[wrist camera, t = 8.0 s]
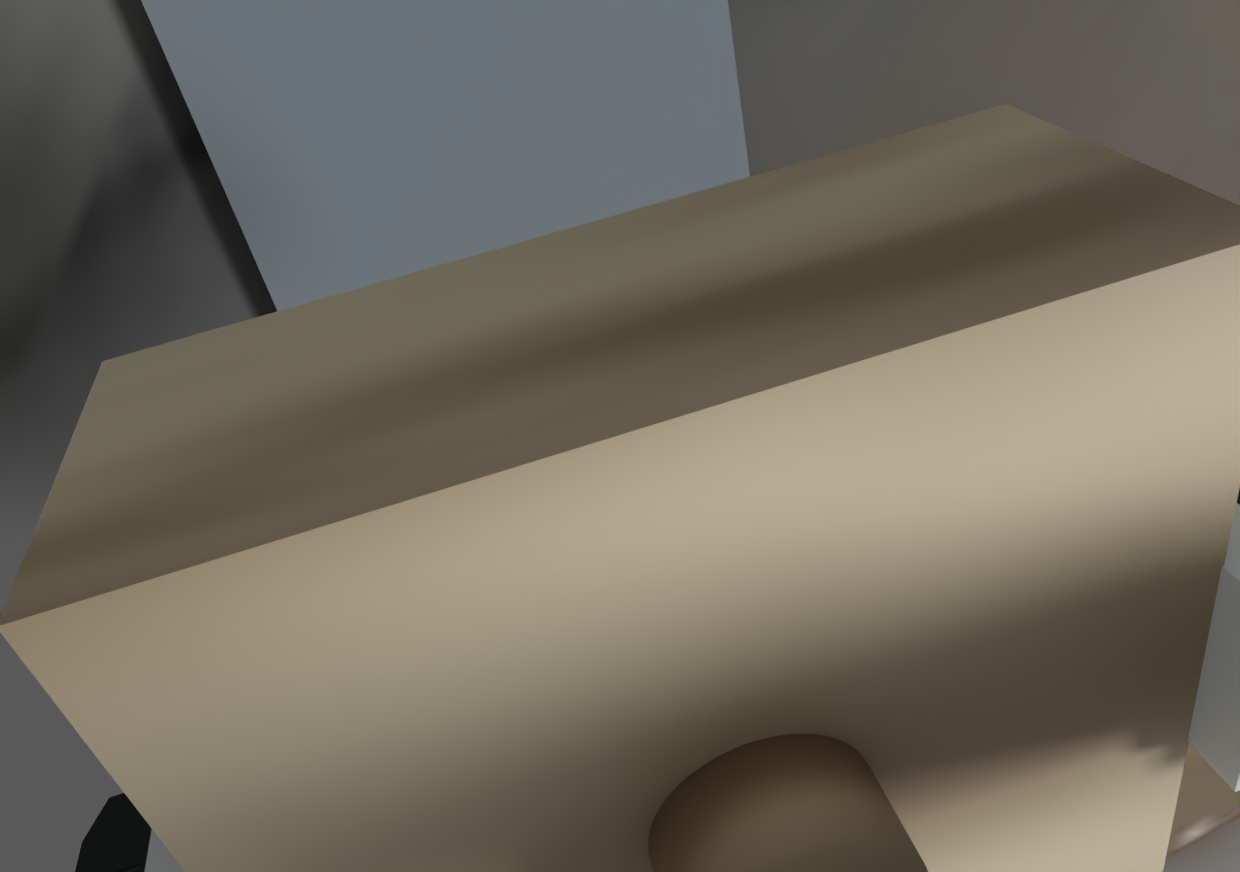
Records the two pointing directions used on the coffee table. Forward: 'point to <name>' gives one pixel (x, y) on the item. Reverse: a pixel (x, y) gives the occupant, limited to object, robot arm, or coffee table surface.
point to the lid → (679, 535)
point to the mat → (447, 122)
